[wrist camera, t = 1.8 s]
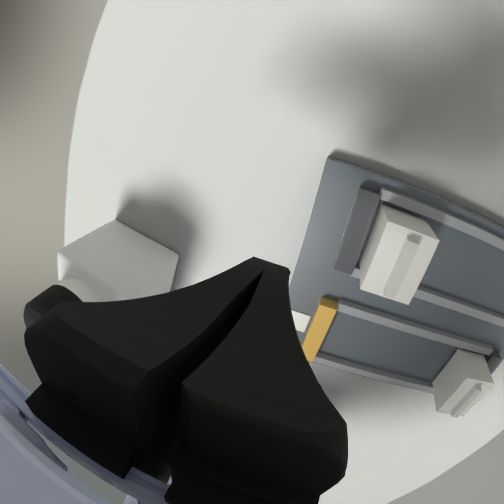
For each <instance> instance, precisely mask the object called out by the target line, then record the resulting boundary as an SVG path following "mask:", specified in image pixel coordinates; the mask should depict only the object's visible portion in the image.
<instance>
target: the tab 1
mask: <svg viewBox="0 0 504 504" xmlns="http://www.w3.org/2000/svg"><path fill="white" fill-rule="evenodd" d="M438 243H439V239H438V238H437V236H436V235H435V233H434V232H433V230H432V229H431V227H430V226H429V224H428V223H427V221H426V220H423V219H421V218H418V217H415V216H413V215H410V214H408V213H405V212H402V211H400V210H397V209H394V208H391V207H389V206H386V205H383V204H381V207H380V209H379V212H378V215H377V218H376V221H375V224H374V226H373V229H372V232H371V235H370V237H369V240H368V243H367V245H366V248H365V250H364V253H363V256H362V258H361V261H360V289H361V290H364V291H367V292H370V293H373V294H376V295H379V296H382V297H385V298H388V299H392V300H395V301H398V302H401V303H404V304H407V305H409V303H410V301H411V299H412V297H413V296H414V294H415V292H416V290H417V288H418V286H419V284H420V282H421V280H422V278H423V276H424V274H425V272H426V270H427V267H428V265H429V263H430V261H431V259H432V257H433V255H434V252H435V250H436V248H437V245H438Z"/></svg>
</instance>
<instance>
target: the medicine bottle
mask: <svg viewBox="0 0 504 504" xmlns="http://www.w3.org/2000/svg"><path fill="white" fill-rule="evenodd" d="M57 258H58V259H57V260H58V279H59V281H58V282H56V283H55V284H54V285H52V286H51V287H49V288H48V289H46V290H45V291H44V292H42V293H41V294H39V295H38V296H37V297H35V298H34V299H33V300H31V301H30V302H28V303H27V304H26V306H25V310H24V321H25V325H26V329H27V328H28V327H29V326H31V325H32V324H33V323H34V322H36V321H37V320H38V319H39V318H41V317H42V316H43V315H44V314H46V313H47V312H48V311H49V310H51V309H52V308H53V307H55V306H56V305H57V304H58V303H60V302H61V301H65V302H107V301H120V300H129V299H137V298H142V297H148V296H153V295H158V294H163V293H167V292H170V290H171V286H172V282H173V278H174V274H175V270H176V266H177V263H178V259H179V256H178V254H177V253H175V252H174V251H172V250H170V249H168V248H166V247H164V246H162V245H161V244H159V243H157V242H155V241H153V240H151V239H149V238H148V237H146V236H144V235H142V234H140V233H138V232H137V231H135V230H133V229H131V228H129V227H128V226H126V225H124V224H122V223H120V222H119V221H117V220H113V221H111V222H109V223H107V224H105V225H104V226H102V227H100V228H98V229H96V230H94V231H92V232H91V233H89V234H87V235H85V236H83V237H82V238H80V239H78V240H76V241H74V242H73V243H71V244H69V245H67V246H66V247H64V248H62V249H61V250H59V251H58V254H57Z"/></svg>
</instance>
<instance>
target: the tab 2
mask: <svg viewBox="0 0 504 504" xmlns="http://www.w3.org/2000/svg"><path fill="white" fill-rule="evenodd" d="M432 384H433V390H434V397H435V404H436V412H441V413H447V414H451V416H452V417H458V416H459V415H461V416H464V415H465V414H466V413H467V412H468V411H469V410H470V409H471V408H472V407H473V406H474V405H475V404H476V403H477V402H478V400H479V399H480V398H481V397H482V396H483V395H484V394H485V393H486V392H487V391H488V390H489V388H490V387H491V386H492V385H493V384H494V383H493V380H492V377H491V374H490V371H489V368H488V365H487V362H486V359H485V357H484V355H480V354H477V353H473V352H469V351H466V350H462V349H459V348H458V349H457V351H456V352H455V354H454V355H453V356H452V358H451V359H450V360H449V362H448V363H447V364H446V366H445V367H444V368H443V370H442V371H441V372H440V373H439V375H438V376H437V377H436V378H435V380H434V381H433V382H432Z"/></svg>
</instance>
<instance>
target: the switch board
mask: <svg viewBox="0 0 504 504" xmlns="http://www.w3.org/2000/svg"><path fill="white" fill-rule="evenodd" d="M381 204H383V205H386V206H389V207H391V208H394V209H397V210H400V211H402V212H405V213H408V214H410V215H413V216H415V217H418V218H421V219H423V220H426V221H427V223H428V224H429V226H430V227H431V229H432V230H433V232H434V233H435V235H436V236H437V238H438V239H439V243H438V245H437V248H436V250H435V252H434V255H433V257H432V259H431V261H430V263H429V265H428V267H427V270H426V272H425V274H424V276H423V278H422V280H421V282H420V284H419V286H418V288H417V290H416V292H415V294H414V296H413V297H412V299H411V301H410V303H409V305H407V304H404V303H401V302H398V301H395V300H392V299H388V298H385V297H382V296H379V295H376V294H373V293H370V292H367V291H364V290H361V289H360V261H361V258H362V256H363V253H364V250H365V248H366V245H367V243H368V240H369V237H370V235H371V232H372V229H373V226H374V224H375V221H376V218H377V215H378V212H379V209H380V207H381ZM289 297H290V305H291V311H292V315H293V320H294V324H295V328H296V331H297V335H298V338H299V341H300V344H301V346H302V349H303V351H304V354H305V356H306V359H307V361H310V362H316V363H319V364H322V365H326V366H329V367H332V368H336V369H339V370H343V371H346V372H350V373H353V374H357V375H360V376H364V377H368V378H372V379H375V380H379V381H383V382H387V383H391V384H395V385H399V386H404V387H408V388H412V389H417V390H421V391H426V392H430V393H434V390H433V384H432V382H433V381H434V380H435V378H436V377H437V376H438V375H439V373H440V372H441V371H442V370H443V368H444V367H445V366H446V364H447V363H448V362H449V360H450V359H451V358H452V356H453V355H454V354H455V352H456V351H457V349H458V348H459V349H462V350H466V351H469V352H473V353H477V354H480V355H484V357H485V359H486V362H487V365H488V368H489V371H490V374H492V373H493V372H494V370H495V369H496V368H497V367H498V365H499V364H500V363H501V362H502V360H503V359H504V226H502V225H500V224H498V223H496V222H494V221H492V220H490V219H488V218H486V217H484V216H482V215H480V214H478V213H475V212H473V211H471V210H469V209H467V208H465V207H463V206H460V205H458V204H456V203H454V202H451V201H449V200H447V199H445V198H442V197H440V196H437V195H435V194H433V193H430V192H428V191H425V190H423V189H420V188H418V187H415V186H413V185H410V184H408V183H405V182H402V181H400V180H397V179H394V178H392V177H389V176H386V175H383V174H380V173H378V172H375V171H372V170H369V169H366V168H363V167H360V166H357V165H354V164H351V163H348V162H345V161H341V160H338V159H335V158H332V157H327V159H326V163H325V167H324V171H323V174H322V178H321V182H320V185H319V189H318V193H317V196H316V200H315V203H314V207H313V210H312V214H311V217H310V221H309V224H308V228H307V231H306V234H305V238H304V241H303V245H302V248H301V251H300V255H299V258H298V261H297V264H296V268H295V271H294V274H293V277H292V280H291V284H290V287H289Z"/></svg>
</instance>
